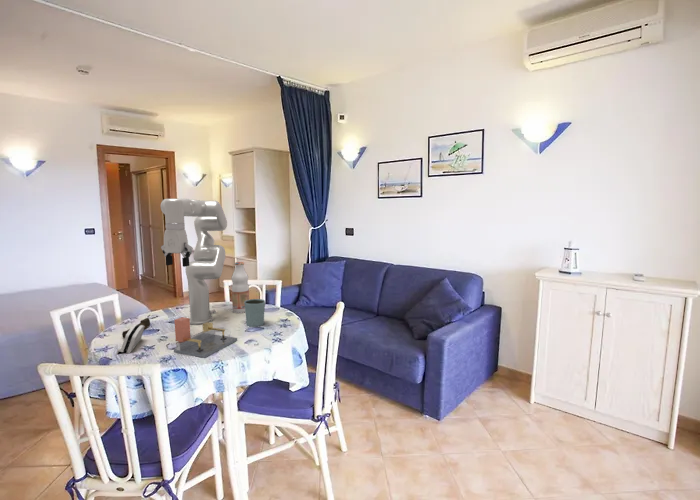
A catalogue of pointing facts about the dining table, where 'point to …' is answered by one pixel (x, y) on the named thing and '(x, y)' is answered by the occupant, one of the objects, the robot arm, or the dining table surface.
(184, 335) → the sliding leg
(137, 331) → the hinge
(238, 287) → the fruit juice
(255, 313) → the green cup
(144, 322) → the hand tool
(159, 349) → the dining table surface
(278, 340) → the dining table surface
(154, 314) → the dining table surface
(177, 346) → the grey clamp fixture plate
